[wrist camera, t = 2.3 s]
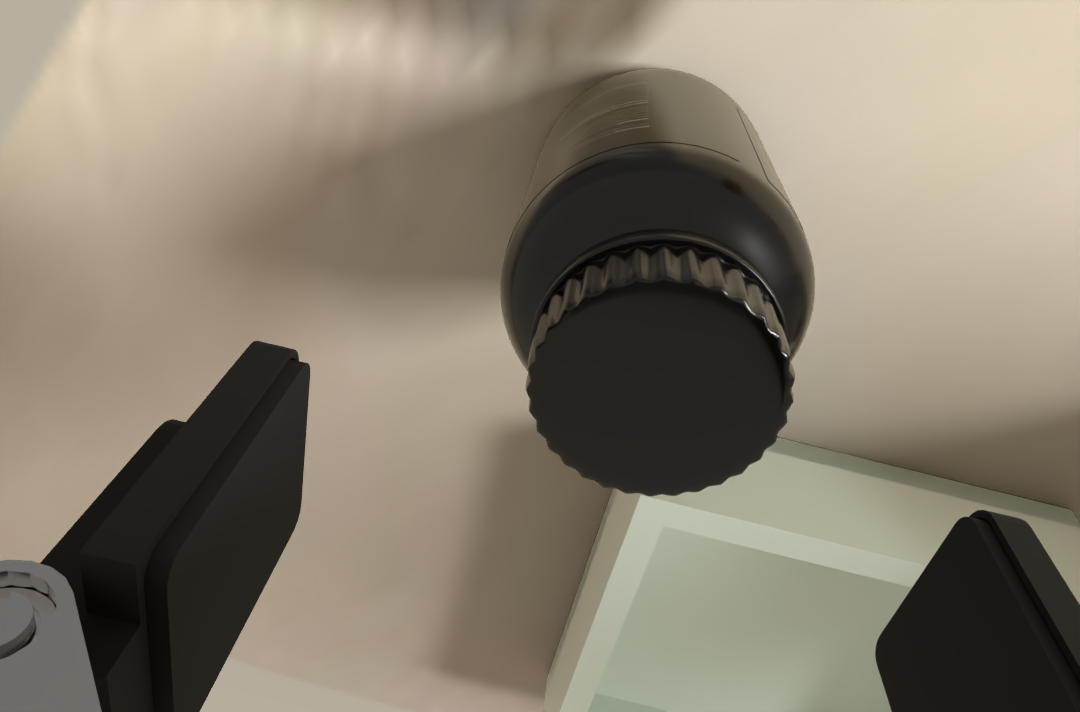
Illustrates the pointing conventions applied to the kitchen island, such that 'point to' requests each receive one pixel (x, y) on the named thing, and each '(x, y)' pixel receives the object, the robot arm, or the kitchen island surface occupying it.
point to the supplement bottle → (657, 286)
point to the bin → (766, 585)
